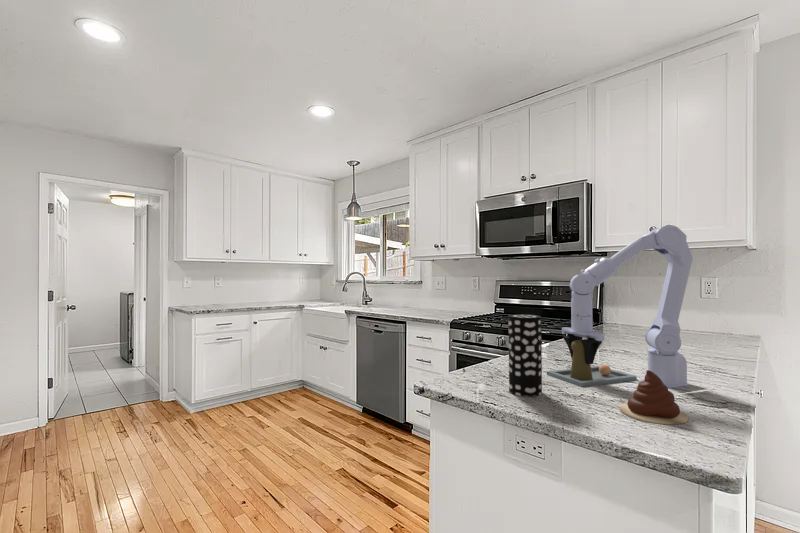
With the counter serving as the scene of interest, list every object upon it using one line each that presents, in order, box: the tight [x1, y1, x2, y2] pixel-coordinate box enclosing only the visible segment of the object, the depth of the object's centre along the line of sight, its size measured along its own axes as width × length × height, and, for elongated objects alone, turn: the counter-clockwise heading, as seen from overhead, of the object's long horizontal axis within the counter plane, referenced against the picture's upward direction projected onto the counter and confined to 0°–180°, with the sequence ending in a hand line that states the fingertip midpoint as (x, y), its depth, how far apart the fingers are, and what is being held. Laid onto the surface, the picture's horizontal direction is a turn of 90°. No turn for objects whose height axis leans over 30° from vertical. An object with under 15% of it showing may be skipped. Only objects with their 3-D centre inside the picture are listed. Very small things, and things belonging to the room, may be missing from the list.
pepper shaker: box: [570, 340, 593, 381], centre depth 121 cm, size 6×6×11 cm
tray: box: [546, 365, 638, 388], centre depth 122 cm, size 20×14×2 cm
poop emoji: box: [627, 369, 681, 418], centre depth 92 cm, size 10×8×9 cm
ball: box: [599, 364, 611, 376], centre depth 124 cm, size 3×3×3 cm
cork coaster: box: [619, 403, 689, 426], centre depth 92 cm, size 13×13×1 cm
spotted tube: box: [508, 314, 543, 397], centre depth 109 cm, size 8×8×20 cm
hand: (582, 361), depth 121 cm, fingers closed on pepper shaker, 5 cm apart
